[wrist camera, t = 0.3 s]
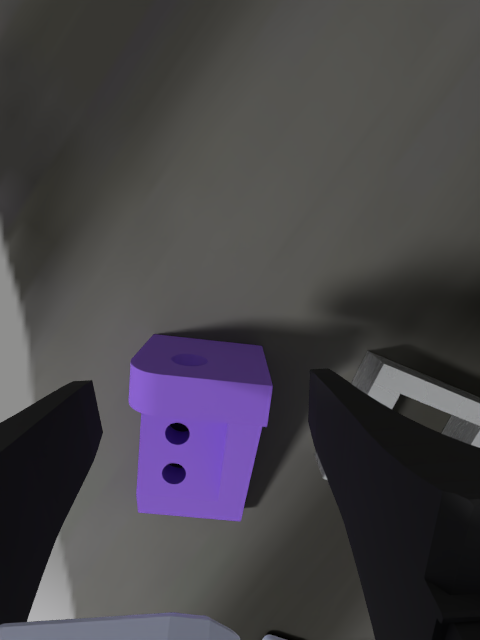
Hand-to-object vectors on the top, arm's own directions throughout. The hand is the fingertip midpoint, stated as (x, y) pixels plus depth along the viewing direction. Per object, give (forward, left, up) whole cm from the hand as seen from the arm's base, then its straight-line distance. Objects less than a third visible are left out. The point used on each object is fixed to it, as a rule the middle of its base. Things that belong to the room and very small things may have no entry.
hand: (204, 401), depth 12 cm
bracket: (-7, -1, -11) cm, 13 cm away
